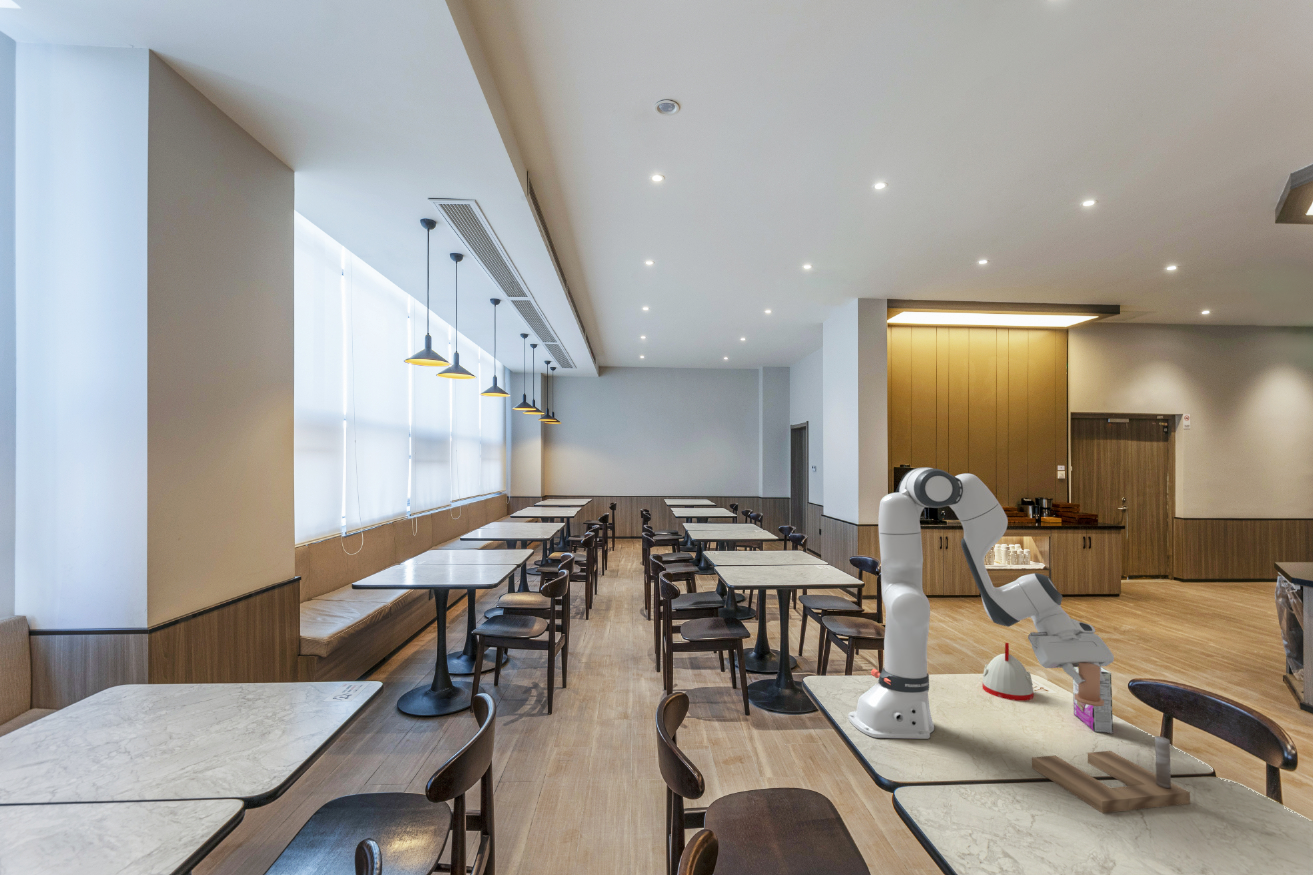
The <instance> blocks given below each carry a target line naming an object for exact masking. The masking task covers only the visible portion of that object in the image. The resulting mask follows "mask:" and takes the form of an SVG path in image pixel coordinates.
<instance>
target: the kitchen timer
mask: <svg viewBox="0 0 1313 875" xmlns="http://www.w3.org/2000/svg"><path fill="white" fill-rule="evenodd" d="M981 683H982V690H983V691H985V692H986V693H987V694H990V695H991V696H994V697H997V698H1000V699H1006V700H1010V701H1017V702H1018V701H1020V702H1021V701H1022V702H1023V701H1030V700H1033V698H1034V686H1033V680H1032V676H1031V672H1030V671H1027V670H1026V668H1025V666H1024V665H1023V663H1022V662H1021V661H1020V660H1019V659H1018V658H1017V657H1015V656H1014V655H1012V654H1011V653H1010V644H1009V642H1005V644H1004V653H1001V654H998V655H996V656H995V657H993V658H992V659H991V660H990V662H988V664H987V663H986V664H985V665H984V668H983V675H982V682H981Z"/></svg>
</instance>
